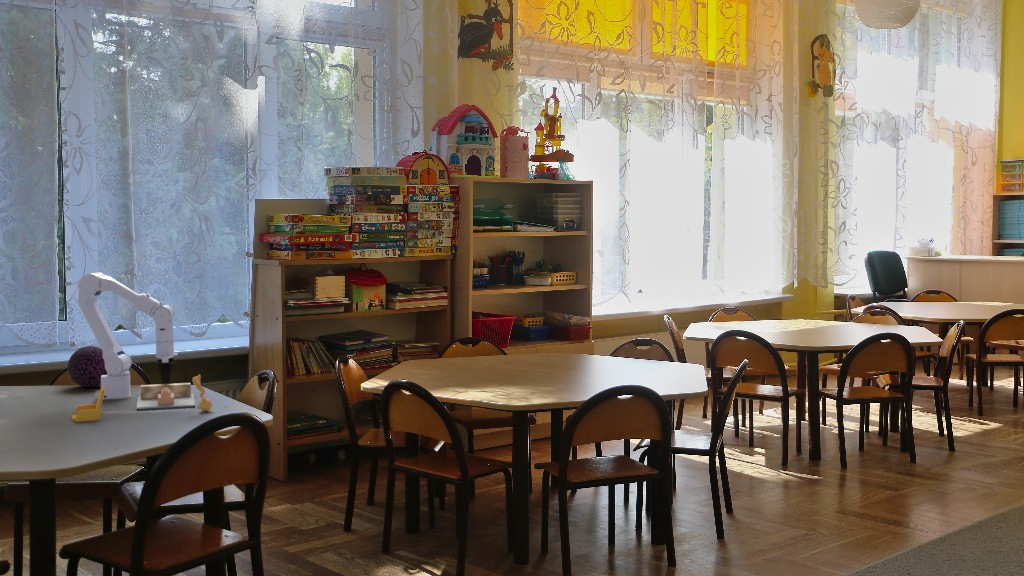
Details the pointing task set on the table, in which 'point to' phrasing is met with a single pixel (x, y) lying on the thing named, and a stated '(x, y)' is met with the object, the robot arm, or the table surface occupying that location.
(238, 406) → the table surface
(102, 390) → the yellow toy chair
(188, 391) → the pine batten
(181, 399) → the board
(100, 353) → the toy ball
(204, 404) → the figurine
